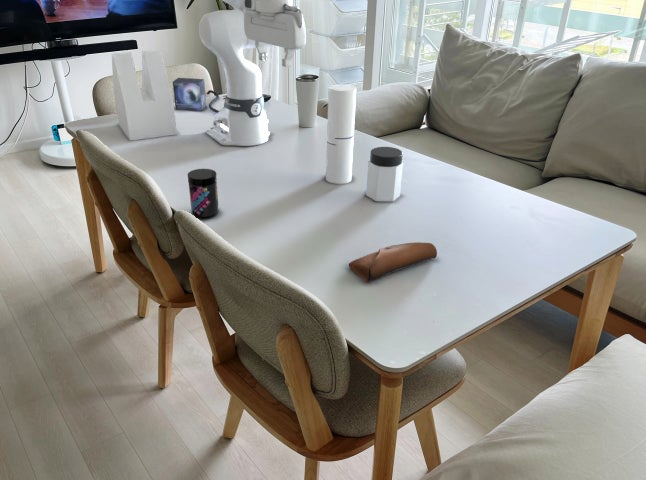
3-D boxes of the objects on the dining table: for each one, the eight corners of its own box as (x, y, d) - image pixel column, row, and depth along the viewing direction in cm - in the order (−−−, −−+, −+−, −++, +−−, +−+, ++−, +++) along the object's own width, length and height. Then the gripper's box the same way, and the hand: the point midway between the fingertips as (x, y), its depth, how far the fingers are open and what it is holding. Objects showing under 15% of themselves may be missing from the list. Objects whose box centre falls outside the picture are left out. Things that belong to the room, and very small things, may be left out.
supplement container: (187, 211, 145) (183, 171, 140) (213, 206, 148) (210, 166, 143) (196, 222, 140) (192, 181, 135) (223, 216, 143) (220, 176, 138)
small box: (174, 110, 221) (171, 81, 216) (180, 105, 227) (177, 77, 221) (201, 111, 220) (199, 82, 215) (207, 106, 226) (204, 78, 220)
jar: (398, 189, 158) (402, 146, 152) (402, 202, 151) (406, 157, 145) (364, 189, 158) (367, 146, 152) (367, 201, 152) (370, 157, 145)
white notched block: (118, 124, 206) (106, 48, 193) (162, 119, 211) (153, 45, 198) (130, 140, 191) (118, 59, 178) (176, 134, 197) (168, 55, 184)
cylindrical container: (349, 184, 161) (354, 91, 148) (323, 182, 162) (326, 89, 149) (352, 175, 167) (358, 85, 154) (328, 173, 168) (331, 83, 155)
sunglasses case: (410, 242, 131) (423, 225, 126) (427, 268, 129) (441, 251, 124) (345, 264, 123) (356, 247, 117) (361, 292, 120) (374, 275, 115)
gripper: (312, 6, 135) (311, 68, 142) (259, -3, 148) (260, 55, 155) (291, 8, 131) (291, 72, 139) (238, -1, 145) (241, 58, 152)
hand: (274, 63), depth 147 cm, fingers open, 8 cm apart
